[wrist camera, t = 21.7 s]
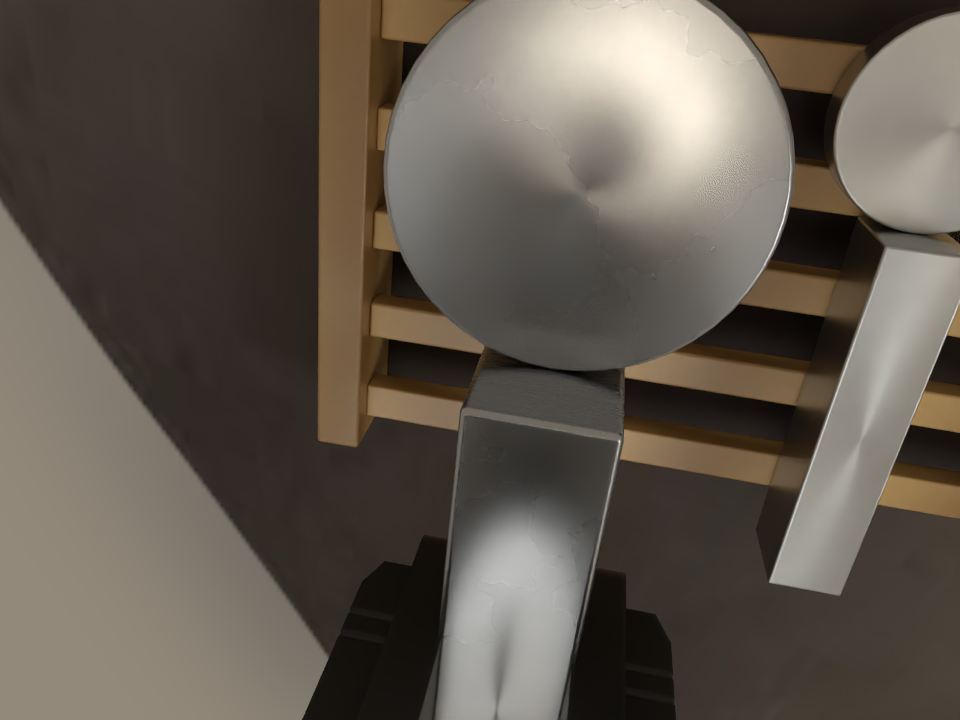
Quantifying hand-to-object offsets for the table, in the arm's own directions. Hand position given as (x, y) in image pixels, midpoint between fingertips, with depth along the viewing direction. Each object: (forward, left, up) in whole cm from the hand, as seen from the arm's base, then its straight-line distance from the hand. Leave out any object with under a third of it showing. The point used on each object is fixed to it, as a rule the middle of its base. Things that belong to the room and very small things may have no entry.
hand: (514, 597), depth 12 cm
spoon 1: (0, +3, 0) cm, 3 cm away
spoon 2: (+7, +3, -9) cm, 12 cm away
